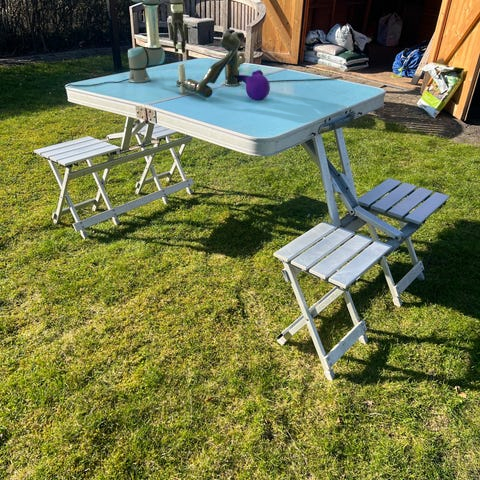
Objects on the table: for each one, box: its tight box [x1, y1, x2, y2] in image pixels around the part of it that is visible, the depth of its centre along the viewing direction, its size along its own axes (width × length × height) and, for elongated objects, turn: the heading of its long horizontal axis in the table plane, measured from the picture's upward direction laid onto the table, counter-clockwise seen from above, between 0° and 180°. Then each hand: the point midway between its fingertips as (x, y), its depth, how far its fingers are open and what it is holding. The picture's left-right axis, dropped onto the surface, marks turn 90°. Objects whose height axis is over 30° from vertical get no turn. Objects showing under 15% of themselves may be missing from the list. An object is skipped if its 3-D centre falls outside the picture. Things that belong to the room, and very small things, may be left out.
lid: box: [176, 43, 182, 50], centre depth 290 cm, size 5×5×2 cm
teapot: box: [238, 51, 246, 69], centre depth 368 cm, size 21×12×15 cm, turn 120°
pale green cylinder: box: [177, 63, 188, 94], centre depth 299 cm, size 4×4×18 cm
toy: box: [233, 69, 271, 102], centre depth 280 cm, size 16×18×27 cm
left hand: (180, 52), depth 291 cm, fingers closed on lid, 5 cm apart
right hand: (180, 81), depth 303 cm, fingers closed on pale green cylinder, 4 cm apart
